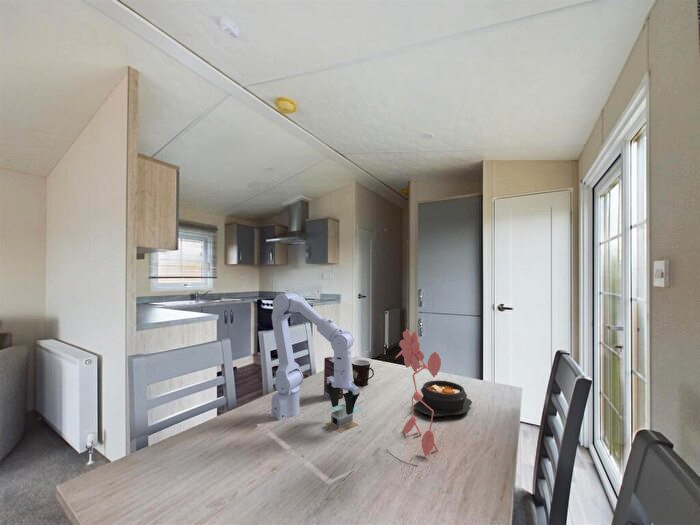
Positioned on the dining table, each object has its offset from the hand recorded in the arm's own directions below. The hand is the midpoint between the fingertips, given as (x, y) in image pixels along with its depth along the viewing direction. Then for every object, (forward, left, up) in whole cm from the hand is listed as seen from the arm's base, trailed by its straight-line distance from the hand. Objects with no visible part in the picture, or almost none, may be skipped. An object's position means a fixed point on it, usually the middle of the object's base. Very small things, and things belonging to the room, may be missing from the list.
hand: (342, 409), depth 108 cm
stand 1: (+9, +8, -6) cm, 13 cm away
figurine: (+8, -22, -6) cm, 24 cm away
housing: (0, 0, -5) cm, 5 cm away
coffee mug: (+32, +24, -6) cm, 41 cm away
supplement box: (+13, +21, -6) cm, 25 cm away
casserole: (+39, -14, -6) cm, 42 cm away
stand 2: (0, 0, -6) cm, 6 cm away
